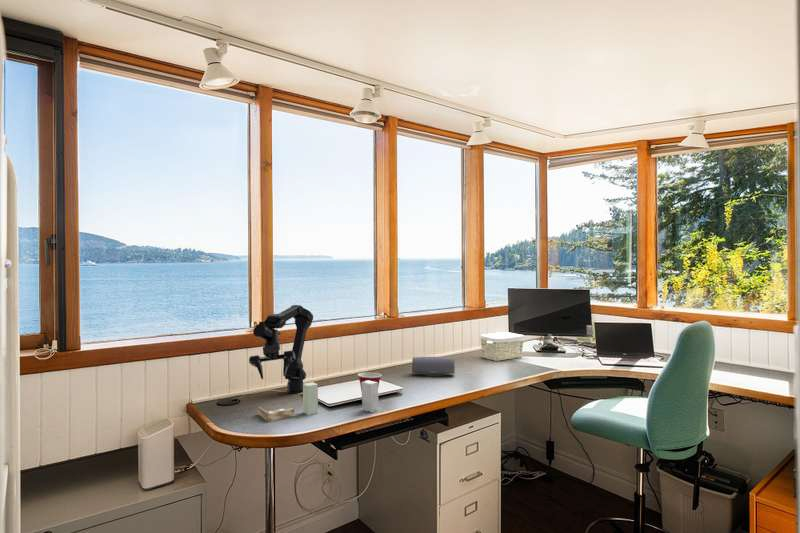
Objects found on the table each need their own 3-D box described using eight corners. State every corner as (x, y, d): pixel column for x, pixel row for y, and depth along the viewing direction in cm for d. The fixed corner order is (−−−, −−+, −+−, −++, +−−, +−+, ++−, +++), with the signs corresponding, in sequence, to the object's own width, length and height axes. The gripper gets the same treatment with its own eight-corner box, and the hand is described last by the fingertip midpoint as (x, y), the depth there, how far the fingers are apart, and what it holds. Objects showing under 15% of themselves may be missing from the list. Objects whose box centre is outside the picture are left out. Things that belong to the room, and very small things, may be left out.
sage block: (312, 410, 204) (312, 382, 204) (317, 413, 201) (317, 384, 201) (303, 412, 202) (302, 383, 201) (308, 415, 198) (307, 386, 198)
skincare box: (379, 410, 203) (378, 382, 203) (371, 413, 200) (371, 384, 200) (369, 407, 208) (368, 379, 207) (361, 410, 204) (361, 381, 204)
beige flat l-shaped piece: (283, 409, 206) (283, 402, 206) (294, 415, 197) (294, 408, 197) (257, 414, 200) (257, 407, 199) (268, 421, 191) (268, 414, 191)
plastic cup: (386, 398, 220) (386, 372, 220) (373, 405, 211) (373, 377, 210) (366, 395, 226) (366, 369, 225) (353, 401, 216) (352, 374, 216)
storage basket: (507, 353, 320) (507, 331, 320) (525, 358, 306) (525, 334, 306) (479, 357, 308) (479, 334, 308) (496, 362, 294) (496, 338, 294)
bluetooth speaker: (454, 373, 267) (454, 355, 267) (454, 377, 258) (454, 358, 258) (413, 372, 270) (413, 354, 269) (412, 376, 260) (411, 358, 260)
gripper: (245, 339, 205) (245, 376, 198) (290, 333, 206) (292, 369, 199) (252, 347, 215) (252, 382, 208) (294, 341, 216) (296, 376, 209)
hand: (273, 377), depth 206 cm, fingers open, 9 cm apart
